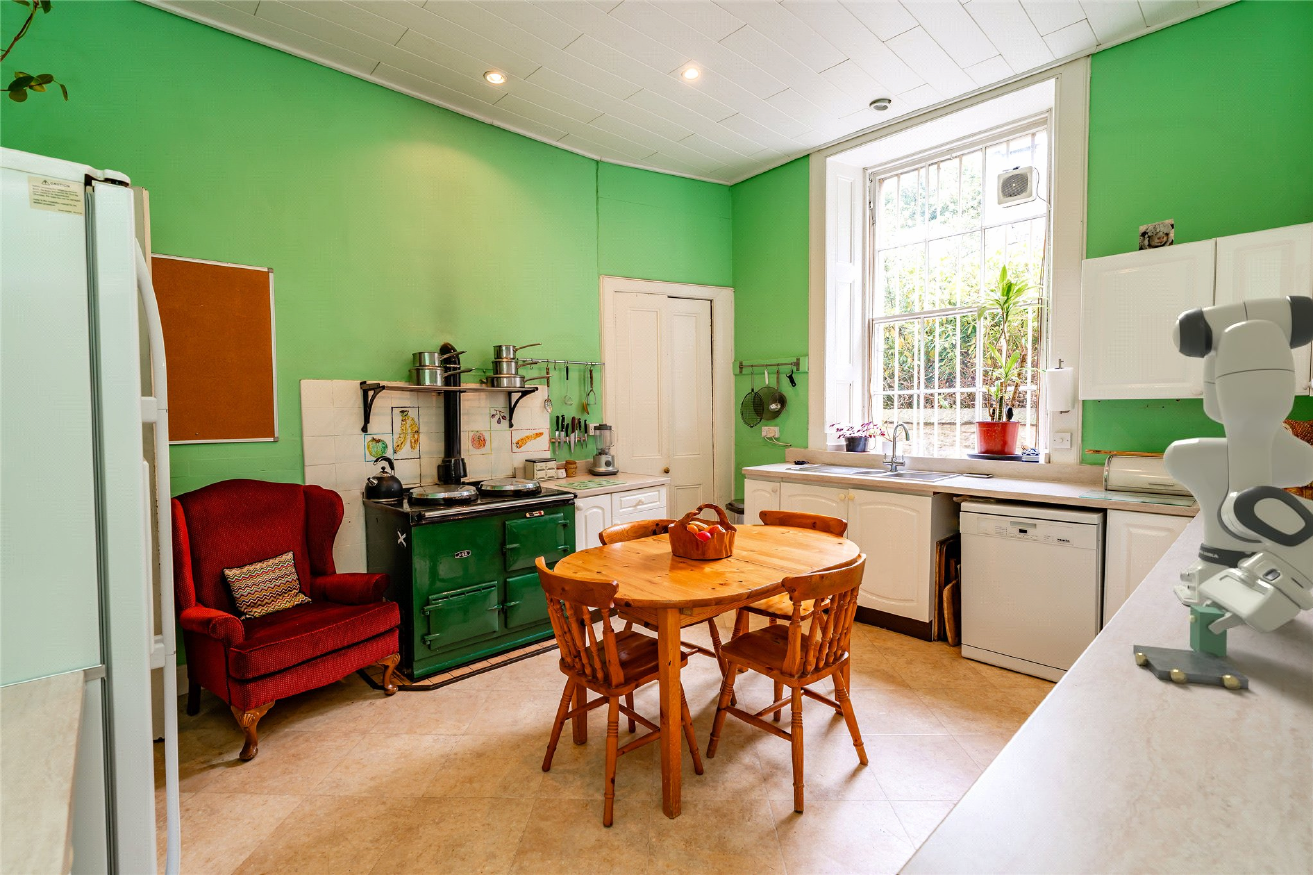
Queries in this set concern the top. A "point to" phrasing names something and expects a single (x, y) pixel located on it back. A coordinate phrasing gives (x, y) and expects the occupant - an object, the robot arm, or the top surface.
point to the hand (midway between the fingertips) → (1203, 625)
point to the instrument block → (1206, 631)
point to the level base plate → (1189, 666)
